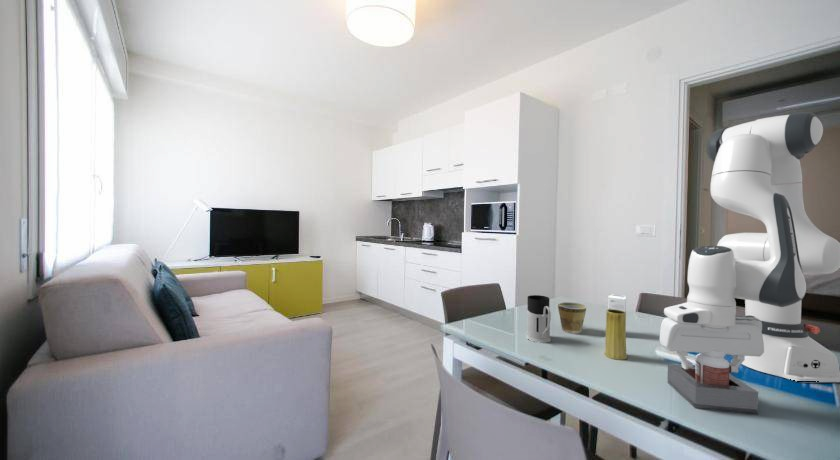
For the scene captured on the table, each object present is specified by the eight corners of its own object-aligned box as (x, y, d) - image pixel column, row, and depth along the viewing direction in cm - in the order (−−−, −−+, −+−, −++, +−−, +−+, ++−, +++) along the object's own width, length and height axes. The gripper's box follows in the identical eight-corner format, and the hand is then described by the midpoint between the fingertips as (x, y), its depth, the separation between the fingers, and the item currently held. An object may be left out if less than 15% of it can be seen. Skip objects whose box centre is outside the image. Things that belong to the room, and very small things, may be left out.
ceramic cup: (591, 335, 123) (591, 308, 122) (564, 335, 123) (564, 308, 122) (575, 324, 136) (575, 300, 135) (550, 324, 136) (551, 300, 135)
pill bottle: (736, 398, 77) (737, 351, 77) (715, 401, 76) (717, 354, 76) (707, 385, 83) (708, 342, 83) (688, 388, 82) (689, 344, 82)
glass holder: (545, 334, 124) (545, 294, 124) (562, 348, 110) (562, 304, 110) (522, 334, 124) (522, 294, 124) (536, 349, 110) (536, 304, 109)
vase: (630, 360, 100) (630, 314, 100) (608, 359, 102) (608, 313, 101) (622, 352, 106) (622, 309, 106) (601, 351, 108) (602, 308, 107)
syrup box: (625, 333, 125) (626, 295, 124) (625, 337, 120) (626, 298, 119) (608, 330, 128) (608, 293, 128) (607, 334, 123) (608, 296, 123)
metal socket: (720, 387, 84) (720, 367, 84) (757, 414, 73) (758, 391, 73) (667, 382, 87) (667, 364, 87) (695, 408, 75) (695, 386, 75)
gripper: (751, 312, 80) (749, 368, 81) (656, 308, 84) (656, 361, 85) (773, 320, 74) (771, 380, 74) (670, 315, 78) (669, 372, 79)
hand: (709, 370), depth 80 cm, fingers open, 8 cm apart
